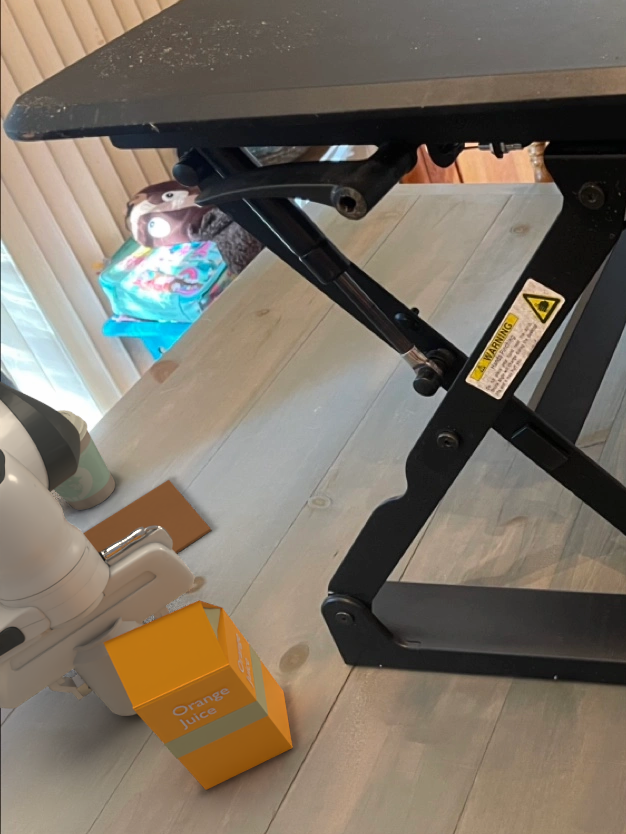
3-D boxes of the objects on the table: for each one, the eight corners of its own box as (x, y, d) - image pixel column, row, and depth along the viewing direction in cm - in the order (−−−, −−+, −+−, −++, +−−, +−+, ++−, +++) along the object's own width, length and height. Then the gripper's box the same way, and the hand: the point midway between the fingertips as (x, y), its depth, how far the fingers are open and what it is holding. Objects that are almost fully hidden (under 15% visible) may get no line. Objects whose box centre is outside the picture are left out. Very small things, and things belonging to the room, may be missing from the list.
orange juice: (293, 748, 107) (202, 629, 95) (205, 791, 105) (100, 675, 92) (284, 689, 113) (197, 570, 100) (199, 729, 111) (101, 612, 98)
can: (155, 649, 119) (101, 582, 112) (196, 674, 116) (142, 606, 108) (97, 703, 114) (36, 637, 107) (137, 731, 111) (77, 664, 103)
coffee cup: (46, 515, 141) (-6, 452, 134) (89, 468, 147) (41, 405, 140) (97, 520, 139) (47, 456, 131) (139, 472, 145) (93, 408, 138)
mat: (103, 602, 127) (101, 600, 127) (66, 546, 136) (64, 544, 135) (211, 530, 134) (210, 528, 134) (170, 481, 142) (168, 479, 142)
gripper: (145, 503, 111) (205, 585, 119) (-62, 632, 101) (19, 713, 109) (168, 531, 107) (228, 615, 115) (-46, 669, 97) (37, 750, 105)
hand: (125, 664), depth 112 cm, fingers closed on can, 7 cm apart
